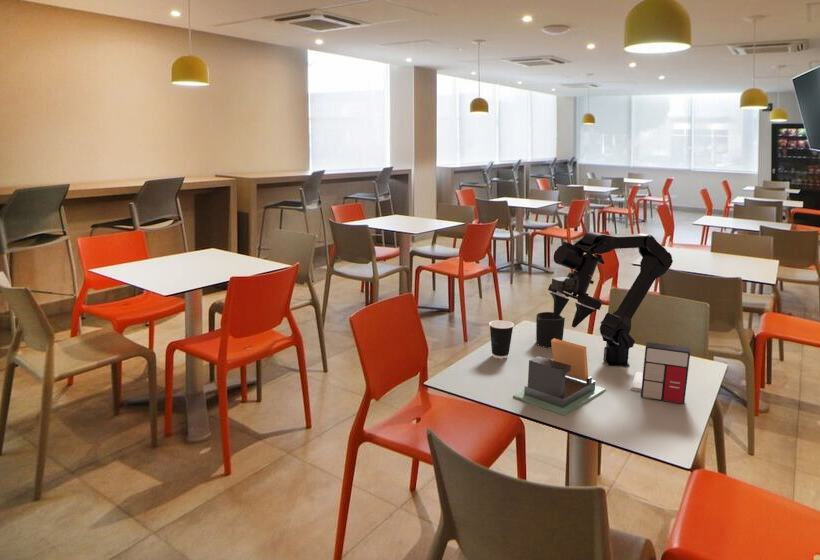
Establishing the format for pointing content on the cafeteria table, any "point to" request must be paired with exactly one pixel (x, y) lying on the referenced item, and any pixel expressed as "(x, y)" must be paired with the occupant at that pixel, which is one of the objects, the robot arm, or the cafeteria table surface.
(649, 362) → the panelled box
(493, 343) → the dixie cup
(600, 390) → the green flat slab
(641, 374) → the external hard drive
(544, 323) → the pen holder
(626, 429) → the cafeteria table surface
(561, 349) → the orange upright panel
